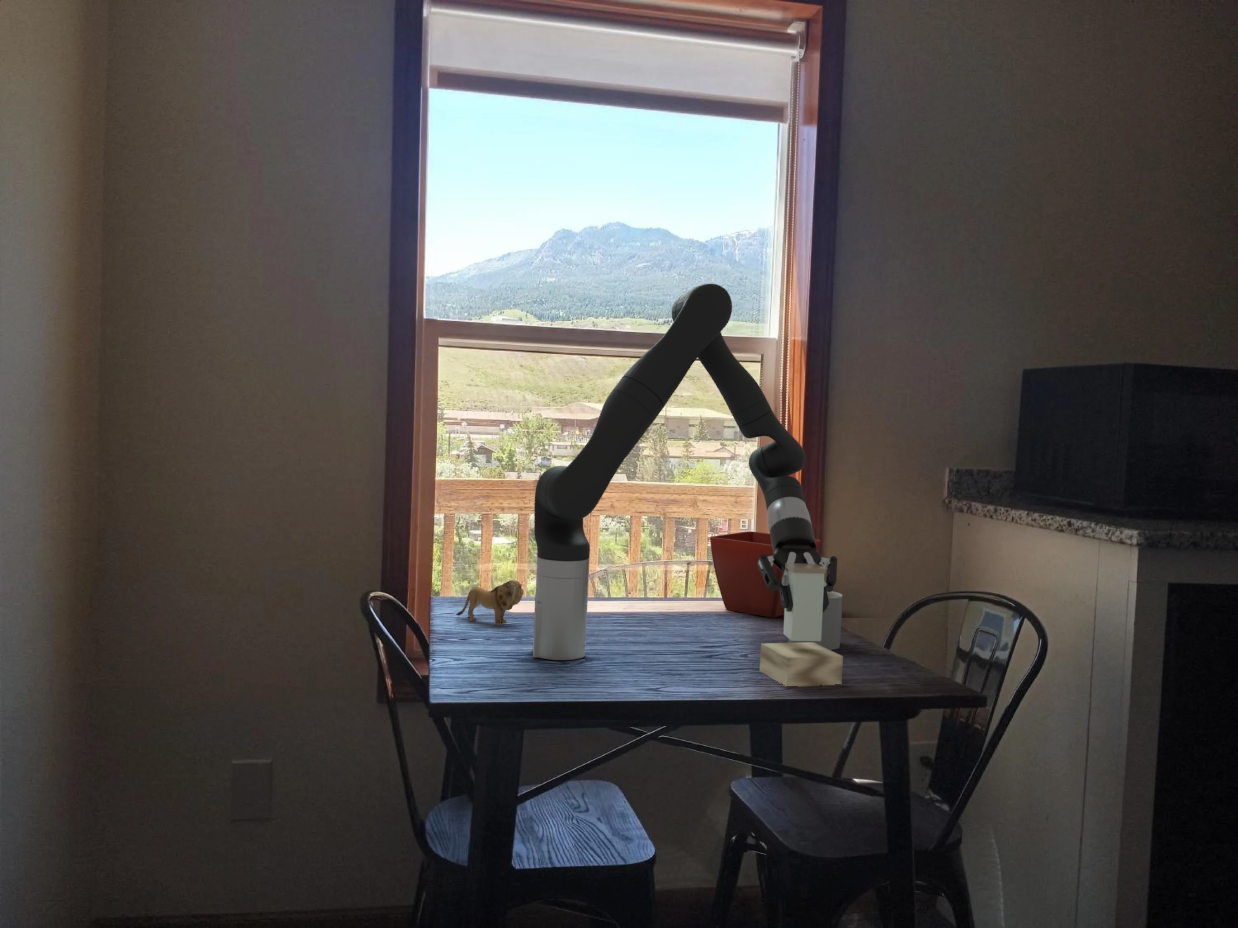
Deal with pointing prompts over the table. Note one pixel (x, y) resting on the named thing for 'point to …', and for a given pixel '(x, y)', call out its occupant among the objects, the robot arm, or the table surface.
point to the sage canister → (805, 602)
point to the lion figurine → (494, 599)
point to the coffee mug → (830, 623)
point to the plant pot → (746, 573)
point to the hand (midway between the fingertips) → (806, 608)
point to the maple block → (801, 664)
